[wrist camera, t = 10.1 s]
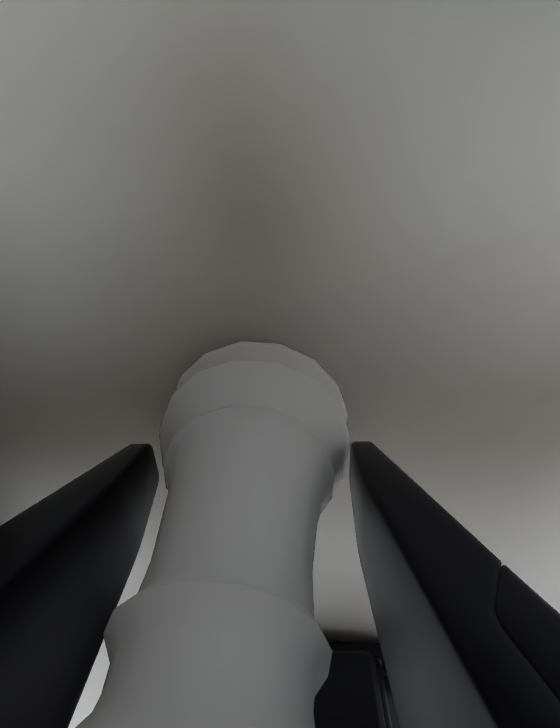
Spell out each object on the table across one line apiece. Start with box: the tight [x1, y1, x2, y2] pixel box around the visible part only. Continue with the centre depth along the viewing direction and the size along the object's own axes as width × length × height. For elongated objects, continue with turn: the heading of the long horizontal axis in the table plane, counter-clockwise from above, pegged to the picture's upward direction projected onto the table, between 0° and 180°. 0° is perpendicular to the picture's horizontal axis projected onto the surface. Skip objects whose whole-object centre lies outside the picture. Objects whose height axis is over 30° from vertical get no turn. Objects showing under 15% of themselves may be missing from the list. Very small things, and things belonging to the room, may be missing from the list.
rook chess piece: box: [76, 341, 350, 728], centre depth 6 cm, size 4×4×8 cm
